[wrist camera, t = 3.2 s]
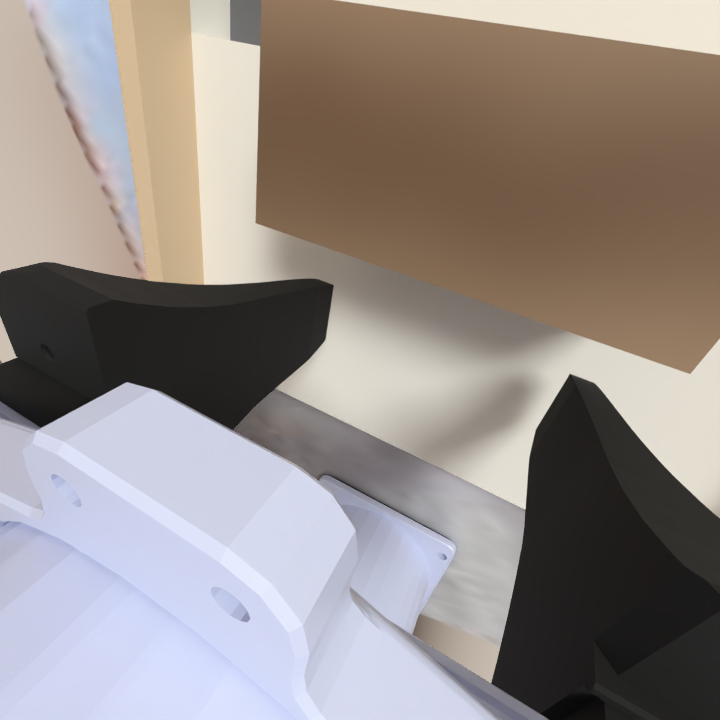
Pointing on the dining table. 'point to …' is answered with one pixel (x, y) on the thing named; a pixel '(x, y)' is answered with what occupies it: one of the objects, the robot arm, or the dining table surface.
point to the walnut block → (501, 166)
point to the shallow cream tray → (380, 285)
